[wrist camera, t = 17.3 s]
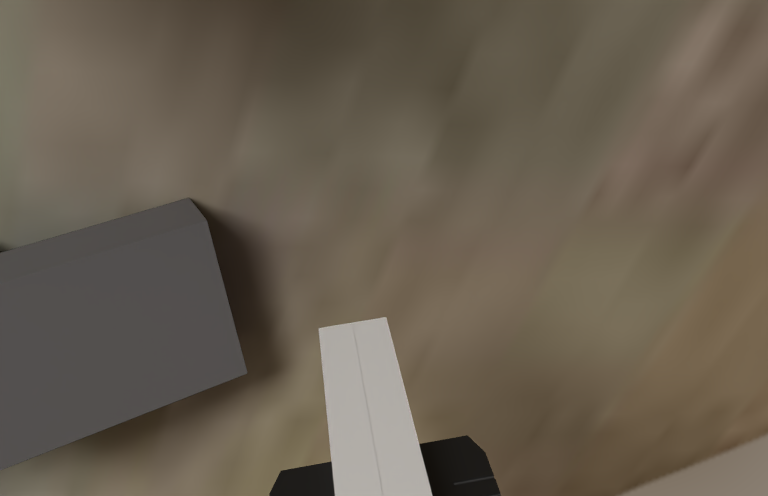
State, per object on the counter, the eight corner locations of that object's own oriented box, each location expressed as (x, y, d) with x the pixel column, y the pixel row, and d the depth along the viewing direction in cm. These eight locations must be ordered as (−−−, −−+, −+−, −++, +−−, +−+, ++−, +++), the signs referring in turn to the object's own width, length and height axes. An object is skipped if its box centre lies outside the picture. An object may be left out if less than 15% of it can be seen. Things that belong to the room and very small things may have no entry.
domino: (189, 197, 20) (-177, 304, 17) (206, 220, 19) (-195, 342, 16) (228, 342, 23) (-88, 459, 19) (247, 373, 21) (-95, 507, 18)
